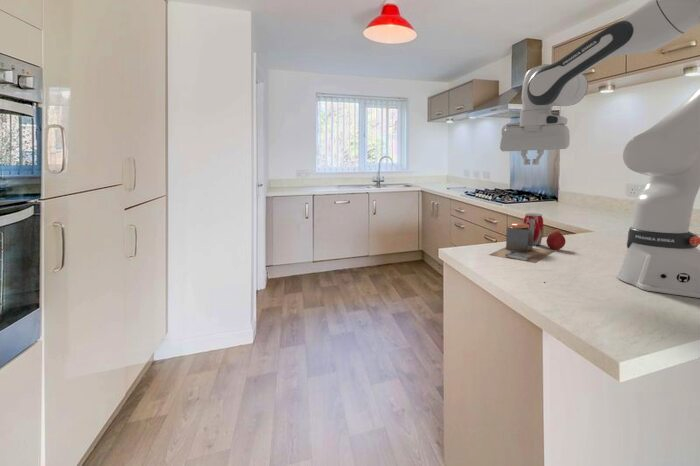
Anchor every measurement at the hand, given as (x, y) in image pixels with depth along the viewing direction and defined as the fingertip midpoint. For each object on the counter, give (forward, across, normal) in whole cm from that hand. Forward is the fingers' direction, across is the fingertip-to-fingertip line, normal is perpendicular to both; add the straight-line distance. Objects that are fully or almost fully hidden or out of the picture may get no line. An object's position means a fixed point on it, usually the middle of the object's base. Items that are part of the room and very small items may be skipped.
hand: (531, 164), depth 114 cm
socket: (+31, -3, +4) cm, 31 cm away
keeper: (+30, +1, -7) cm, 31 cm away
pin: (+30, -3, +4) cm, 30 cm away
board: (+31, 0, 0) cm, 31 cm away
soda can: (+31, -4, +20) cm, 37 cm away
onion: (+31, +6, +14) cm, 35 cm away
